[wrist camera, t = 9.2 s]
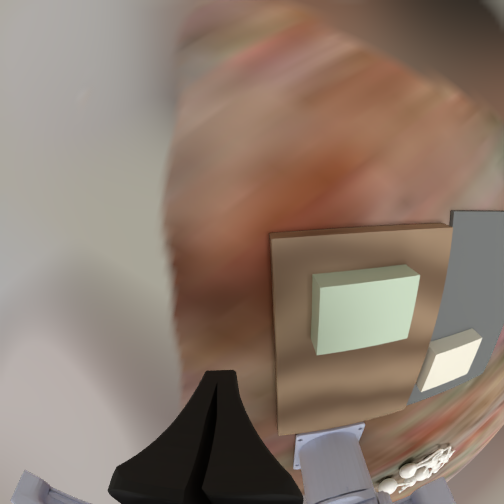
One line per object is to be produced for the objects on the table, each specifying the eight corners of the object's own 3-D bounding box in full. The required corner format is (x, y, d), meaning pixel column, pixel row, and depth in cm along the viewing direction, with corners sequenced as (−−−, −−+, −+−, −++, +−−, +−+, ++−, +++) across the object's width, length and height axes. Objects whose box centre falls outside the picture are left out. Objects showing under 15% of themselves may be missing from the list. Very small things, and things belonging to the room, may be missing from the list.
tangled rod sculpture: (464, 434, 33) (473, 445, 29) (422, 475, 36) (429, 486, 32) (419, 443, 30) (429, 458, 26) (368, 487, 33) (375, 502, 29)
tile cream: (458, 363, 22) (467, 373, 20) (412, 380, 22) (420, 392, 20) (472, 328, 21) (482, 337, 19) (425, 343, 21) (436, 354, 19)
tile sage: (395, 324, 19) (407, 338, 17) (310, 338, 19) (316, 355, 17) (405, 264, 17) (420, 274, 15) (312, 274, 17) (320, 287, 15)
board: (399, 400, 24) (404, 409, 22) (277, 424, 24) (278, 435, 22) (441, 222, 18) (453, 227, 16) (269, 233, 18) (271, 239, 16)
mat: (481, 371, 24) (482, 373, 24) (404, 403, 24) (405, 405, 24) (525, 211, 17) (528, 212, 17) (450, 210, 17) (453, 211, 17)
